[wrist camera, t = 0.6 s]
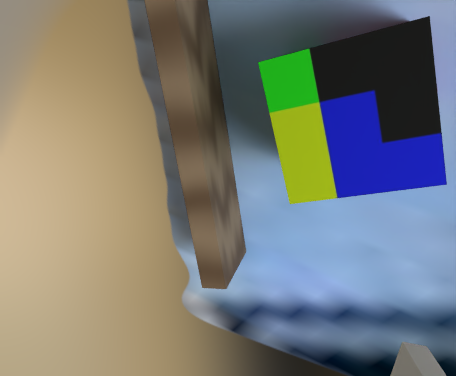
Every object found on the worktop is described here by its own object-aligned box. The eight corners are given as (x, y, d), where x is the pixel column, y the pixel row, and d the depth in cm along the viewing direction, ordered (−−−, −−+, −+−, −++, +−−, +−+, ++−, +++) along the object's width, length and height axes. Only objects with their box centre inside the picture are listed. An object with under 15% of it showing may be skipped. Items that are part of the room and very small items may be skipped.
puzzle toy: (424, 144, 33) (446, 184, 24) (307, 163, 37) (290, 204, 28) (409, 21, 31) (429, 16, 22) (284, 55, 34) (258, 62, 25)
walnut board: (171, -58, 34) (128, -79, 28) (197, -65, 33) (158, -88, 27) (225, 251, 43) (202, 287, 37) (246, 251, 42) (226, 289, 36)
